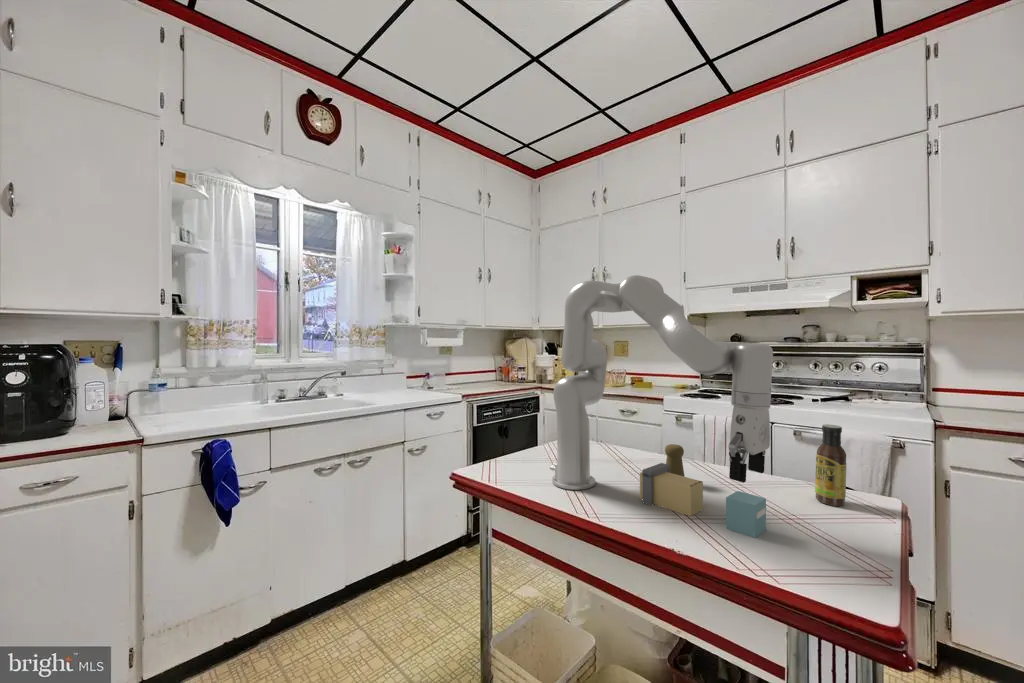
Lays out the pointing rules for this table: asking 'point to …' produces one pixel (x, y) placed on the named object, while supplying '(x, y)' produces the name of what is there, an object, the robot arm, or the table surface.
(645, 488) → the tan oblong box
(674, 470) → the brown knobbed peg
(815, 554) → the table surface
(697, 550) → the table surface
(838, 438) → the sauce bottle
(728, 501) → the teal box
